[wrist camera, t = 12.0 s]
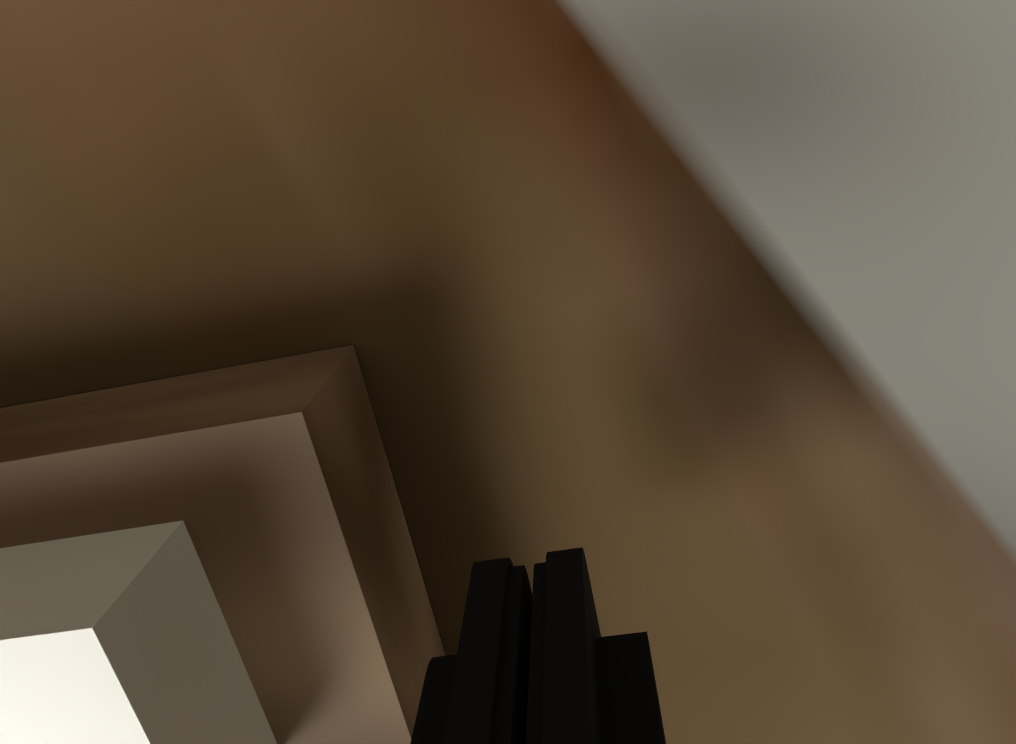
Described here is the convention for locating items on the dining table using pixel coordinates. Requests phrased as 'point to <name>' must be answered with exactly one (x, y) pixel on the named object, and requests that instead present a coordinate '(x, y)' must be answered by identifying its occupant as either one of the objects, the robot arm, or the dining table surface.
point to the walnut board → (252, 525)
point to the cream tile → (119, 645)
